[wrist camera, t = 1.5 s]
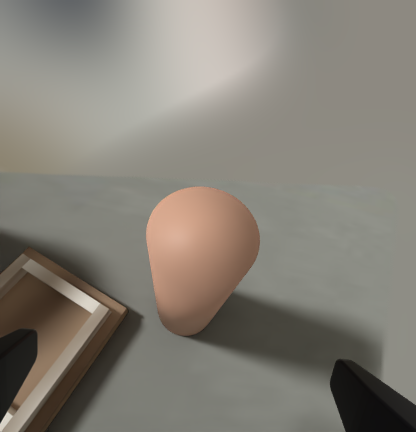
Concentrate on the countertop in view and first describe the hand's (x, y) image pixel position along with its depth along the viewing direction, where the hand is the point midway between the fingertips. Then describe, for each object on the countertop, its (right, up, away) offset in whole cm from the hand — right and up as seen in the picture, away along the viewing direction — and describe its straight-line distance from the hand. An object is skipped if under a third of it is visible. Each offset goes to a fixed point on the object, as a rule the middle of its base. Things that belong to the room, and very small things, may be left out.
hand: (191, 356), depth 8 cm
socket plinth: (-12, -5, +11) cm, 17 cm away
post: (-1, -3, +14) cm, 14 cm away
